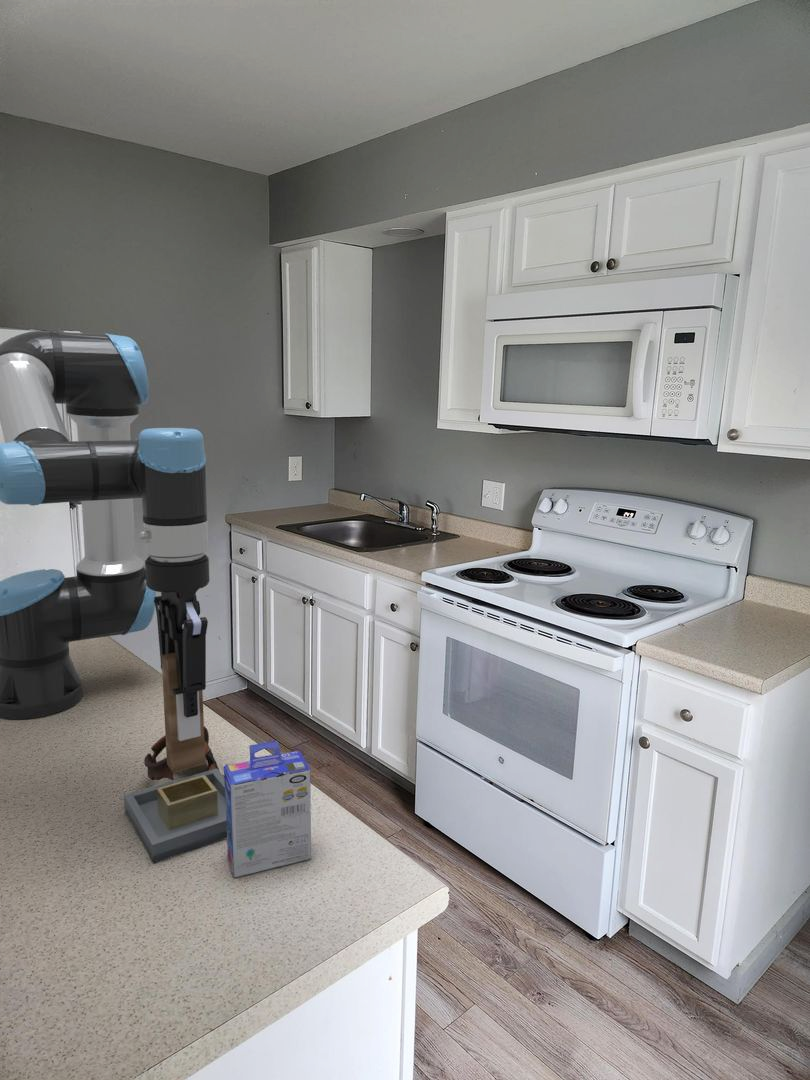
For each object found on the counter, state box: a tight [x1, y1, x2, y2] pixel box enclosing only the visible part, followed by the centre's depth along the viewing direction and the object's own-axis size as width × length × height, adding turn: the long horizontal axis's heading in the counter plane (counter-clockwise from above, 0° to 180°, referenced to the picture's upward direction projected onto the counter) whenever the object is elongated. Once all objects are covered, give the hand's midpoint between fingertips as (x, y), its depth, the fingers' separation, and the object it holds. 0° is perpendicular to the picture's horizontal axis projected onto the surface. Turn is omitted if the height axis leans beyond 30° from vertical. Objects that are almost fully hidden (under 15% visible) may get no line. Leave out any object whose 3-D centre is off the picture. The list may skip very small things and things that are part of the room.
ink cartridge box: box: [223, 740, 312, 878], centre depth 89 cm, size 10×6×14 cm, turn 114°
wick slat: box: [161, 653, 206, 774], centre depth 94 cm, size 3×4×15 cm, turn 125°
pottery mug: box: [143, 725, 220, 781], centre depth 108 cm, size 12×10×8 cm
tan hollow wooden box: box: [157, 775, 218, 830], centre depth 97 cm, size 5×6×4 cm
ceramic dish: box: [123, 768, 227, 864], centre depth 97 cm, size 13×13×2 cm
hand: (185, 732), depth 94 cm, fingers closed on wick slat, 3 cm apart
